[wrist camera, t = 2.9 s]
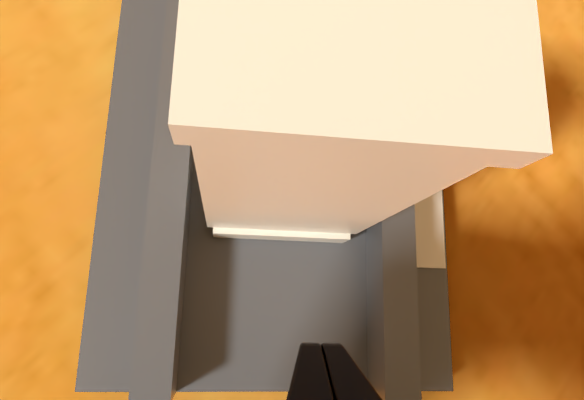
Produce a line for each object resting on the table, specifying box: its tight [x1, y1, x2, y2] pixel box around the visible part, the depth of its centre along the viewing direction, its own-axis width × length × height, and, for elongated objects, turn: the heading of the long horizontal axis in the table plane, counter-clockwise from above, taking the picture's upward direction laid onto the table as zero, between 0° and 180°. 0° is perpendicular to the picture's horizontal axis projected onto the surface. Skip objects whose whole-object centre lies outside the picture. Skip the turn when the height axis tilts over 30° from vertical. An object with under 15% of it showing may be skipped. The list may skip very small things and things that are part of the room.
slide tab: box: [168, 0, 553, 243], centre depth 12 cm, size 3×6×11 cm, turn 88°
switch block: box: [75, 0, 453, 400], centre depth 17 cm, size 16×13×3 cm
